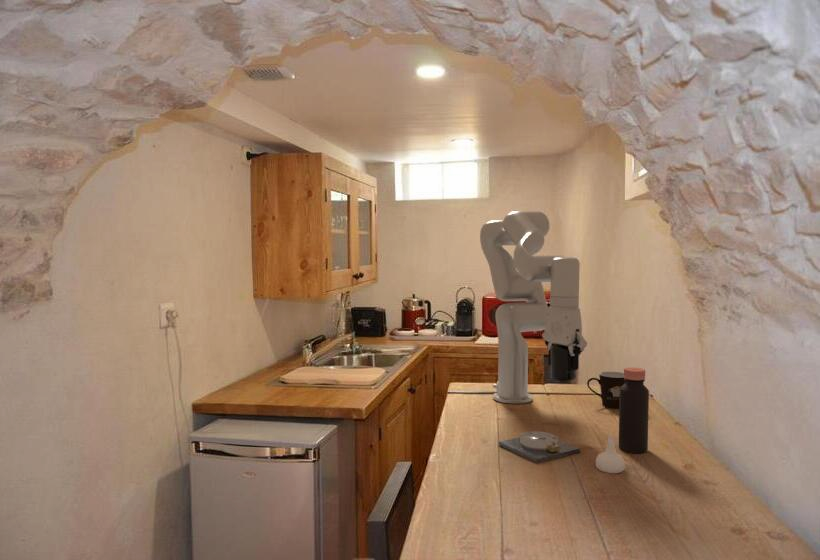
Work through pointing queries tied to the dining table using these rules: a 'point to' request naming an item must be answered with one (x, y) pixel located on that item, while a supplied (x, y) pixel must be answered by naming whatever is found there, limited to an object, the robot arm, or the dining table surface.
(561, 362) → the supplement bottle
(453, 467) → the dining table surface
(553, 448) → the dish on grey tray
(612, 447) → the garlic bulb
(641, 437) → the vinegar
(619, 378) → the coffee mug
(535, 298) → the robot arm
